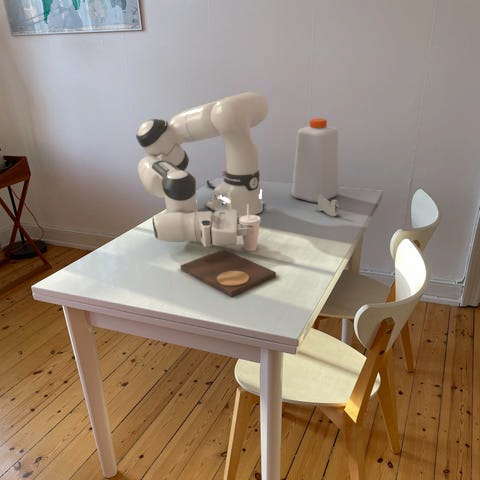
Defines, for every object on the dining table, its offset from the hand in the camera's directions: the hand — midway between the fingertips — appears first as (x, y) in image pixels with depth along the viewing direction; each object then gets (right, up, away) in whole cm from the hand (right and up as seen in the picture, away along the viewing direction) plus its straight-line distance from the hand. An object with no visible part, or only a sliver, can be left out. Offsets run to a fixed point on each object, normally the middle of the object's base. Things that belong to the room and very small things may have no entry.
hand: (253, 225), depth 148 cm
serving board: (-7, -15, -10) cm, 20 cm away
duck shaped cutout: (+27, +9, +28) cm, 40 cm away
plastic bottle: (+25, +20, +46) cm, 56 cm away
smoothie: (-1, -7, +4) cm, 8 cm away
